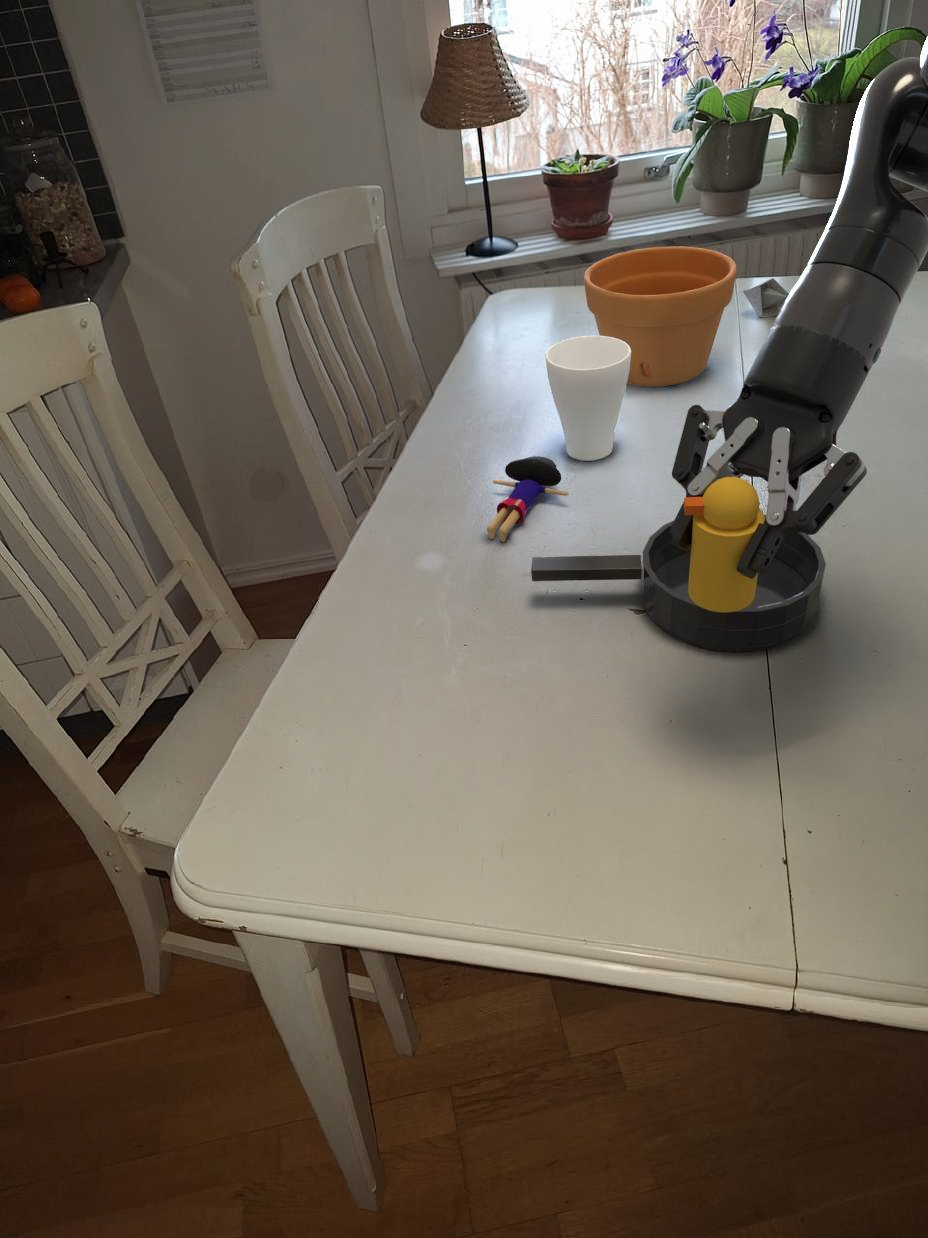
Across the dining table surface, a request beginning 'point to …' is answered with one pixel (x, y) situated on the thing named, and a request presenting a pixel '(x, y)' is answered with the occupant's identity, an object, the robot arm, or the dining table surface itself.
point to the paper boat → (766, 298)
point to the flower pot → (662, 308)
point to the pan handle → (586, 568)
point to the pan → (761, 625)
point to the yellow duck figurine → (722, 544)
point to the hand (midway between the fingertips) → (711, 559)
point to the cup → (588, 391)
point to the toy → (524, 491)
